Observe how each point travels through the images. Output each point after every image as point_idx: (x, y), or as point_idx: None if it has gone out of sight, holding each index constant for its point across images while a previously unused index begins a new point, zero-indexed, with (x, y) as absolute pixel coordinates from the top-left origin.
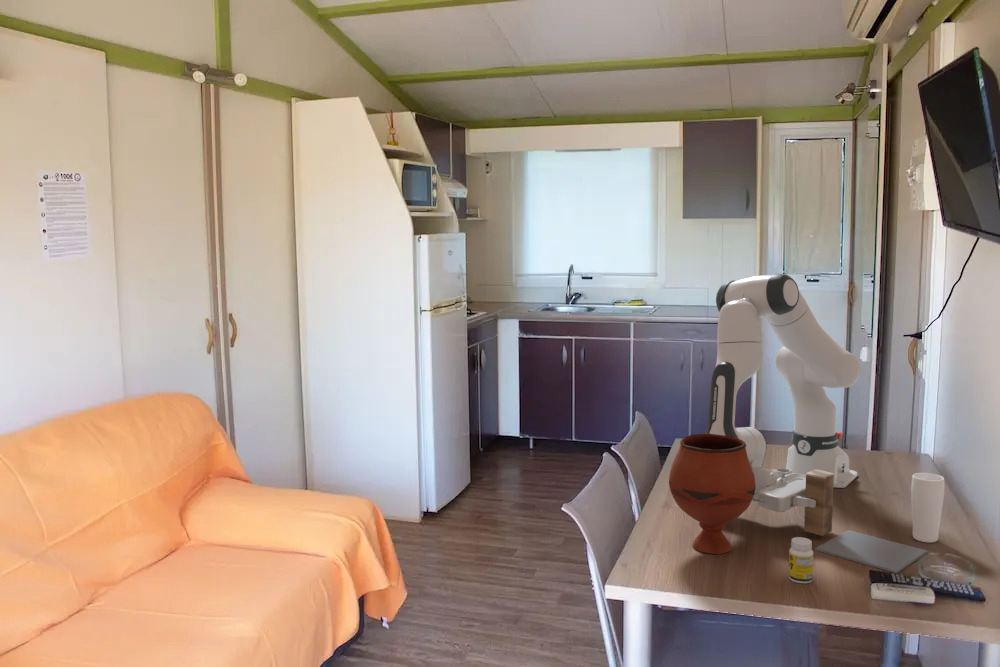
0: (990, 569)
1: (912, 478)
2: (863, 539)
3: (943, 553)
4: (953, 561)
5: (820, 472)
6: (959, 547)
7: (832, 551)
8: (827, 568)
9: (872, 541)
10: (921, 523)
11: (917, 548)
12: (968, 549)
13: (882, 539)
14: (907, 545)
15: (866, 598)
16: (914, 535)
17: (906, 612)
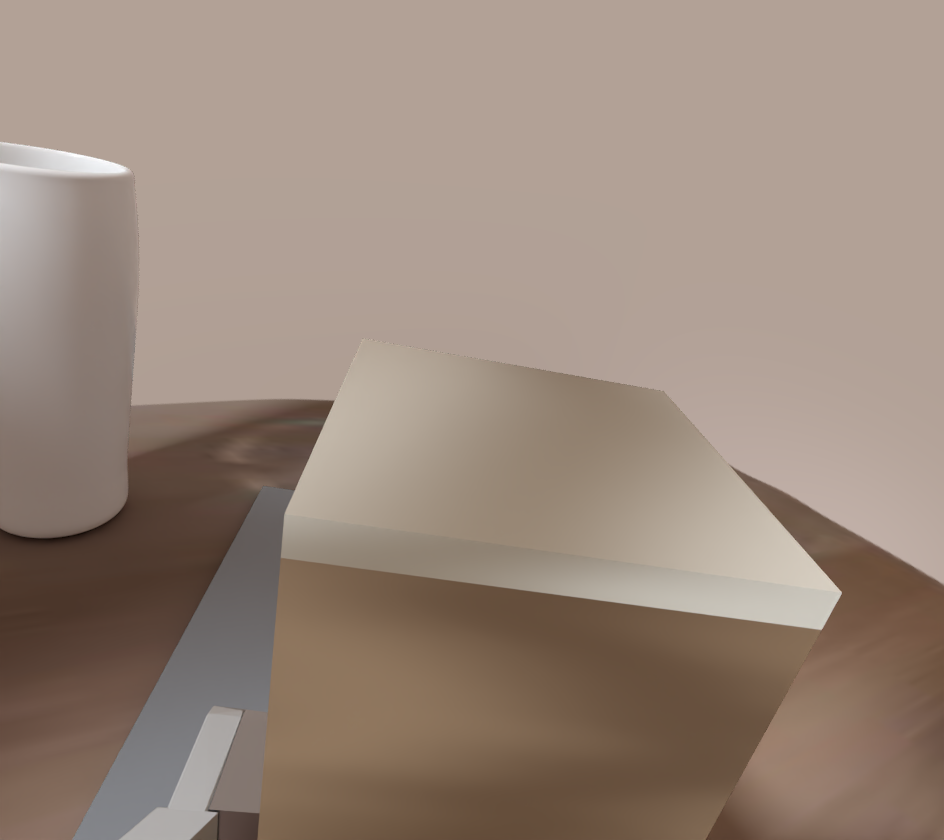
0: (312, 400)
1: (36, 189)
2: (263, 697)
3: (235, 464)
4: (305, 447)
5: (487, 430)
6: (129, 438)
7: None
8: (794, 730)
9: (271, 651)
10: (122, 428)
11: (257, 507)
12: (141, 424)
13: (199, 621)
14: (238, 533)
15: (818, 564)
16: (91, 515)
17: (764, 496)
